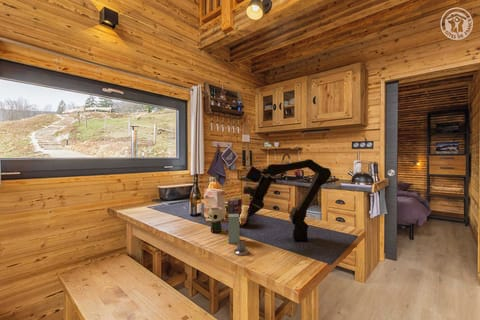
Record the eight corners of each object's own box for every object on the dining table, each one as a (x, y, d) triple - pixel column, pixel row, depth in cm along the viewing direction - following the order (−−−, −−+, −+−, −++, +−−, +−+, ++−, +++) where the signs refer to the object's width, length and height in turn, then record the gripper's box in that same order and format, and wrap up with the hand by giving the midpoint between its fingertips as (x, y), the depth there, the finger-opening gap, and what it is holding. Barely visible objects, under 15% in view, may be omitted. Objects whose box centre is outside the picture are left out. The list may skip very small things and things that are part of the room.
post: (244, 248, 103) (244, 238, 103) (251, 253, 97) (250, 243, 97) (231, 250, 100) (231, 241, 100) (237, 256, 94) (237, 246, 94)
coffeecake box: (203, 217, 155) (203, 189, 154) (212, 215, 160) (211, 187, 159) (217, 221, 144) (216, 191, 144) (225, 219, 149) (225, 190, 149)
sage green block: (239, 239, 114) (238, 213, 114) (239, 243, 109) (239, 216, 108) (228, 239, 114) (228, 214, 113) (228, 243, 108) (228, 217, 108)
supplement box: (233, 227, 131) (233, 201, 131) (227, 226, 134) (227, 200, 134) (242, 224, 138) (242, 198, 138) (236, 222, 141) (236, 197, 141)
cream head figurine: (204, 232, 125) (204, 209, 125) (212, 228, 131) (211, 206, 131) (220, 235, 120) (220, 211, 119) (227, 231, 126) (227, 208, 126)
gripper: (248, 177, 121) (235, 202, 122) (249, 181, 103) (233, 211, 103) (266, 187, 121) (253, 212, 122) (270, 193, 103) (255, 222, 103)
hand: (248, 214), depth 112 cm, fingers open, 9 cm apart
